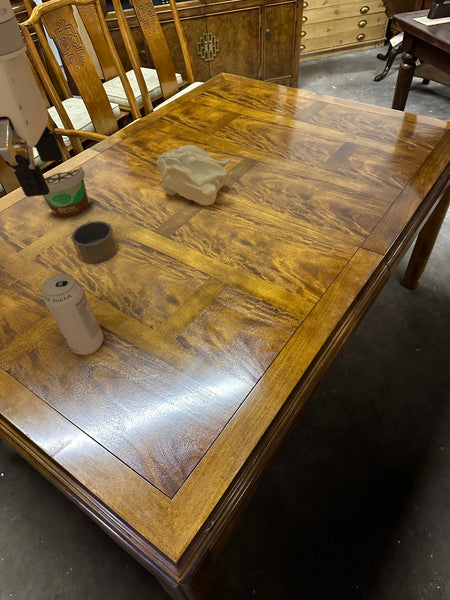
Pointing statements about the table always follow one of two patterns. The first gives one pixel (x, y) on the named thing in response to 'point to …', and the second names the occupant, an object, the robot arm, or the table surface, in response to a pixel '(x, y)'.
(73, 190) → the food container
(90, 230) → the can holder
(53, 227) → the table surface
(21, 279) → the table surface
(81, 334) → the energy drink can
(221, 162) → the folded clay sculpture
